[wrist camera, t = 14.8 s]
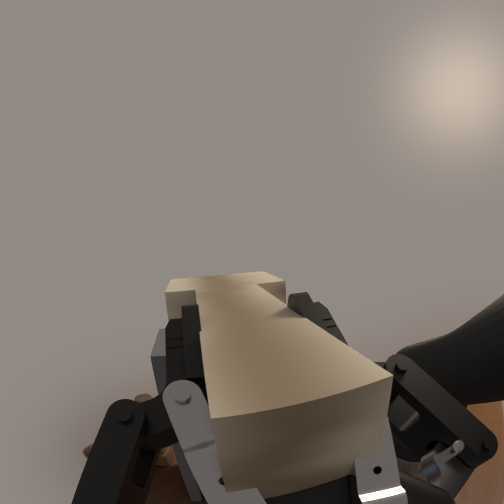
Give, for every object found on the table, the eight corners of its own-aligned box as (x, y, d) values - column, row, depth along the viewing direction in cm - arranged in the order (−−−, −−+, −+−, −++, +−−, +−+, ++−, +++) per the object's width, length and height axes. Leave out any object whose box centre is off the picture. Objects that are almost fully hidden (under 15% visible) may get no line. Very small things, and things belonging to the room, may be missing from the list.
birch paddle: (265, 304, 26) (263, 271, 25) (428, 436, 6) (448, 351, 6) (175, 313, 24) (171, 279, 24) (148, 508, 4) (108, 422, 4)
